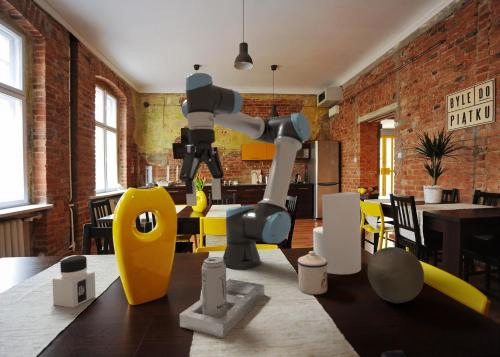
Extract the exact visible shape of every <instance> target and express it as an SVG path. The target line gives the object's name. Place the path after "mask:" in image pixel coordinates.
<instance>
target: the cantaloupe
mask: <svg viewBox="0 0 500 357" xmlns="http://www.w3.org/2000/svg"><path fill="white" fill-rule="evenodd" d="M366 270H367V277H368V280H369V283H370V285H371V287H372V289H373V290H374V291H375V293H376V294H377V295H378V296H379V297H380V298H381V299H383V300H385V301H386V302H389V303H393V304H402V303H406V302H410V301H412V300H414V299H415V298H416V297H417V296H418V295H419V294H420V292H421V291H422V289H423V287H424V281H425V270H424V268H423V265H422V262H421V261H420V260H419V258H418V257H417V256H416V255H414V254H413V253H412V252H410V251H408V250H406V249H404V248H402V247H401V248H400V247H397V246H388V247H383V248H382V247H381V248H380V249H378V250H377V251H375V252H374V254H373V255H372V256H371V257H370V259H369V261H368V265H367V269H366Z"/></svg>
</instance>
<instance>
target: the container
mask: <svg viewBox="0 0 500 357" xmlns="http://www.w3.org/2000/svg"><path fill="white" fill-rule="evenodd" d="M59 264H60V275H58V276H55V277H53V278H52V303H53V305H54V306H58V307H59V306H60V307H65V308H69V309H73V308H76V307H78V306H80V305H82V304H84V303H86V302H88V301H90V300H92V299H94V298H95V297H96V273H95V271H90V270H88V267H87V266H88V259H87V256H85V255H83V254H82V255H81V254H76V255H70V256H65V257H64V258H62V259H61V260H60V262H59Z"/></svg>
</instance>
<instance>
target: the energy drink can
mask: <svg viewBox="0 0 500 357" xmlns="http://www.w3.org/2000/svg"><path fill="white" fill-rule="evenodd" d="M226 281H227V267H226V265H225V263H224V262H223V257H219V256H210V257H207V258H204V259H203V263H202V266H201V293H202V294H201V296H202V297H201V299H202V308H203V315H206V316H211V317H215V318H219V319H220V318H221V317H222V316H223V315H224V314H225V313H227V294H226Z"/></svg>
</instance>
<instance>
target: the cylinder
mask: <svg viewBox="0 0 500 357" xmlns="http://www.w3.org/2000/svg"><path fill="white" fill-rule="evenodd" d="M321 197H322V198H321V202H322V203H321V205H322V206H321V210H322V212H321V214H322V215H321V216H322V226H317V227H314V228H313V229H312V230H313V231H312V232H313V233H312V234H313V251H314V252H315V254H316V255H318V256H320V257H323V258H325V259H326V260H327V263H328V264H327V274H334V275H351V274H352V275H353V274H357V273H358V272H359V273H360V271H361V270H362V246H361V242H362V240H361V238H362V236H361V234H362V233H361V228H362V227H361V194H360V192H352V191H346V192H344V191H343V192H337V193H336V192H335V193H326V194H322V195H321Z"/></svg>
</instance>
